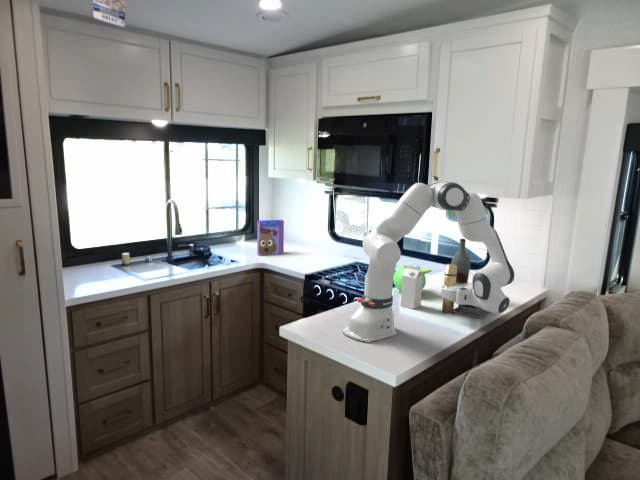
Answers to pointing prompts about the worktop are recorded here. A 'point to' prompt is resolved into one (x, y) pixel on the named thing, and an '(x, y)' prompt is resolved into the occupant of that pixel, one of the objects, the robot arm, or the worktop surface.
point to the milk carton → (411, 287)
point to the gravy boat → (398, 274)
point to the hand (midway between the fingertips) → (448, 286)
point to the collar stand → (471, 311)
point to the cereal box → (270, 237)
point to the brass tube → (449, 281)
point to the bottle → (461, 264)
